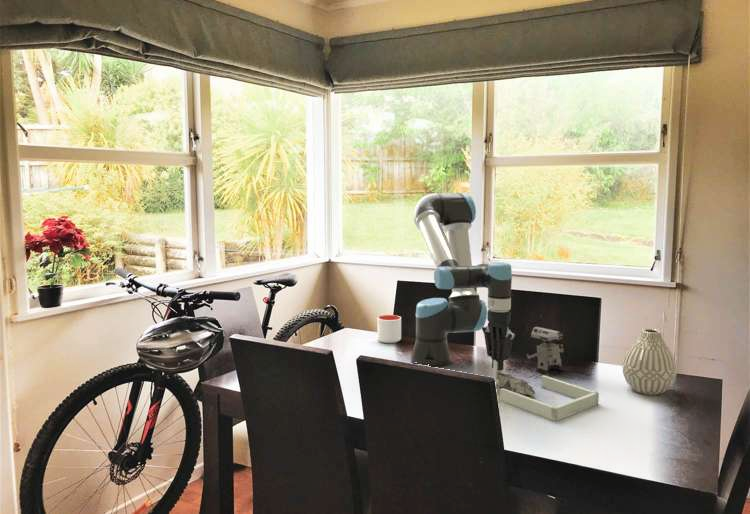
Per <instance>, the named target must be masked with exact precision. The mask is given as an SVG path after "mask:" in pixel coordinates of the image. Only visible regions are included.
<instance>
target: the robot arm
mask: <svg viewBox="0 0 750 514" xmlns="http://www.w3.org/2000/svg"><path fill="white" fill-rule="evenodd" d="M476 214H477V210H476V204H475V202H474V200H473V198H472V196H470V194H468V193H464V192H462V193H461V192H451V193H450V192H449V193H448V192H447V193H428V194H426V195H424V196H423V197H421V198H420V200H418V202H417V203H416V205H415V206H414V211H413V220H414V223H415V225H416V228H417V229H418V230H419V231H421V234H422V236H423V238H424V241H425V243H426V246H427V248H428V251H429V253H430V255H431V257H432V260H433V262H434V265H435V267H436V268H435V269H434V272H433V280H434V285H435V286H436V288H437V289H440V290H451V294H450V295H449V296H448V299H446V298H444V297H431V298H427V299H423V300H421V301H419V302H417V304H416V306H415V307H416V309H415V343H414V345H413V348H412V352H411V355H410V361H411V360H412V361H413V362H417V364H422V365H428V364H429V366H434V367H433V368H436V367H437V368H438V367H443V366H442V365H445V366H447V365H446V364H448V365H450V364H451V363H452V354H451V352H450V347H449V344H448V334H451V333H452V334H453V333H454V334H456V333H467V332H468V333H472V332H478V331H482V332H483V336H484V342H485V348H486V354H487V356H488V357H490V358H491V368H492V371H493V372H492V378H493V377H494V378H495V379H494V380H496V381H498V380H499V377H498V373H503V370H504V369H505V368H504V363H505V361H507V360H510V359H509V358H510V355H511V351H512V347H513V342H514V339H515V338H516V336H517V334H516V333H515V332H512V331H511V327H510V323H511V317H512V316H511V308H512V281H513V280H512V279H513V273H512V271H513V270H512V265H511V264H510V263H508V262H507V263H506V262H492V263H491V262H490V263H489V264H486V263H485V264H484V263H479V264H476V265H473V263H472V261H473V260H472V253H471V244H470V243H471V242H470V236H469V230H470V229H471V227H472V223H473V222H474V221H475V220H476V217H477V216H476ZM475 288H477V289H478V288H486V289H487V305H486V302H485V301H484V300H482V299H480V294H478V292H476V290H475ZM487 308H488V309H487ZM486 322H487V326H485V325H486ZM412 361H411V362H412ZM413 362H412V363H413ZM450 362H451V363H450ZM449 363H450V364H449ZM417 364H416V365H417Z"/></svg>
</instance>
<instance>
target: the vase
mask: <svg viewBox="0 0 750 514" xmlns="http://www.w3.org/2000/svg"><path fill="white" fill-rule="evenodd" d="M677 372H678V371H677V364H676V359H675V357H674V354H673V353H672V351H671V349H670V348H669V347H668V345H667V344H666V342H665V341H664V339H663V336H662V332H661V330H658V329H655V328H644V329H642V330H641V332H640V335H639V336H638V338H637V339H636V340H635V341H634V342H633V343H632V344H631V346H630V347H629V348H628V350H627V351H626V353H625V355H624V358H623V362H622V374H623V377H624V379H625V381H626V383H627V385H628V387H630V388H631V389H632V390H634V391H635V392H637V393H639V394H643V395H647V396H658V395H662V394H663V393H665V392H667V391H668V390H670V388H671V387H672V386H673V384H674V383H675V381H676V378H677Z"/></svg>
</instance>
